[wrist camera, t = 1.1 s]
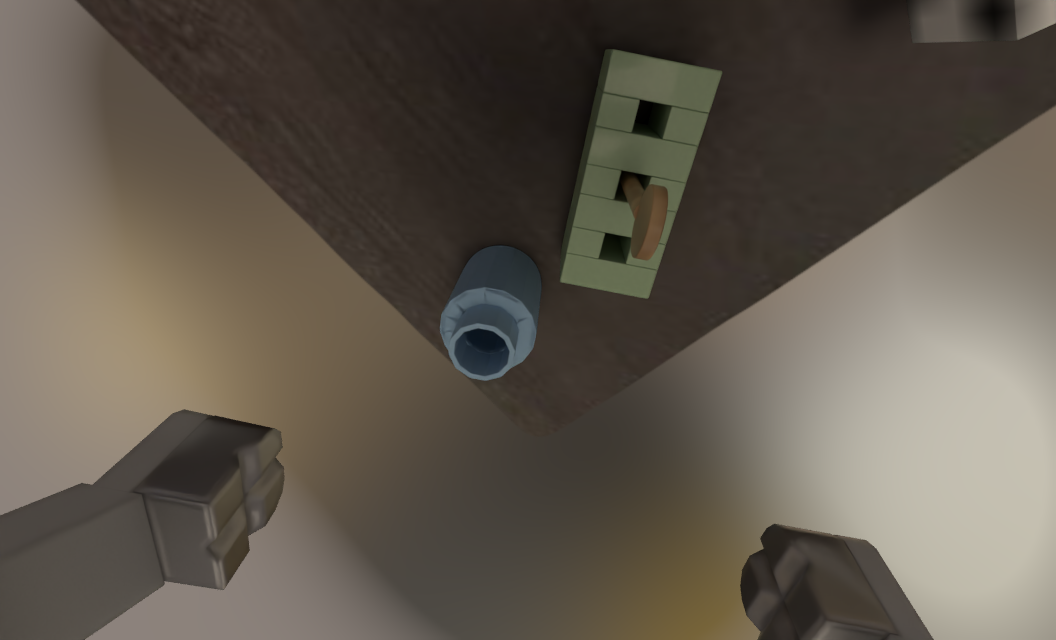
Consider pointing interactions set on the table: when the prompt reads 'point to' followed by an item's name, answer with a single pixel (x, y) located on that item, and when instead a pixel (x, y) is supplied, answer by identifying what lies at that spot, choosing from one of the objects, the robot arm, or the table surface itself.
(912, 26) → the blocky rabbit figurine
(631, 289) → the stand
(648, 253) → the spoon
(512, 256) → the bottle
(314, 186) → the table surface
